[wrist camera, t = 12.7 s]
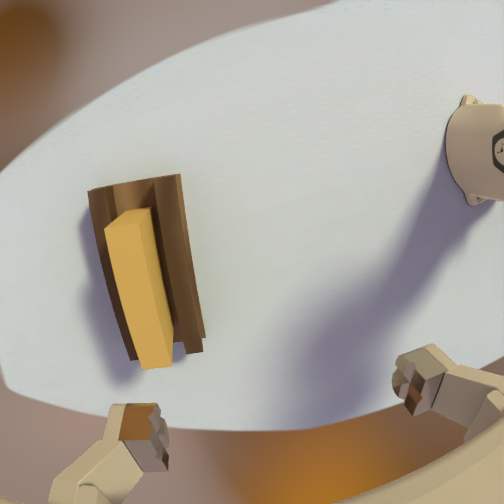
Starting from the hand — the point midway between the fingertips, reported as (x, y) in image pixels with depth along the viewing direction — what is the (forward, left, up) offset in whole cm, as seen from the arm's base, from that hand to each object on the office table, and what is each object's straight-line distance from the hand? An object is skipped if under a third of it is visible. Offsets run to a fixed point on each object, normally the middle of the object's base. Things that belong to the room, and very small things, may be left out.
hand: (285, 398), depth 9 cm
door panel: (+8, +4, -26) cm, 28 cm away
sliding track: (+8, +4, -27) cm, 29 cm away
